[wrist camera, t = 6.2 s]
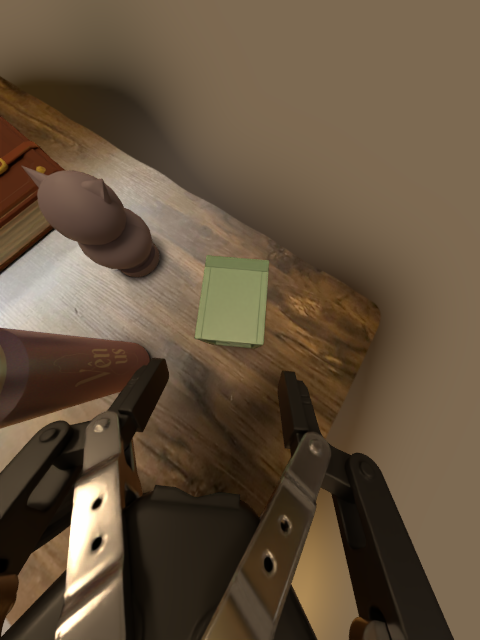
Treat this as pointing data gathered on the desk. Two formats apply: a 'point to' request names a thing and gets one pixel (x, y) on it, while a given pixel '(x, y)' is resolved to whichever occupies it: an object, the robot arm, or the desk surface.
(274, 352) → the desk surface
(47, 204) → the cat figurine
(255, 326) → the green open-top box
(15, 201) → the book
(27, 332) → the beverage can
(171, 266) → the desk surface
